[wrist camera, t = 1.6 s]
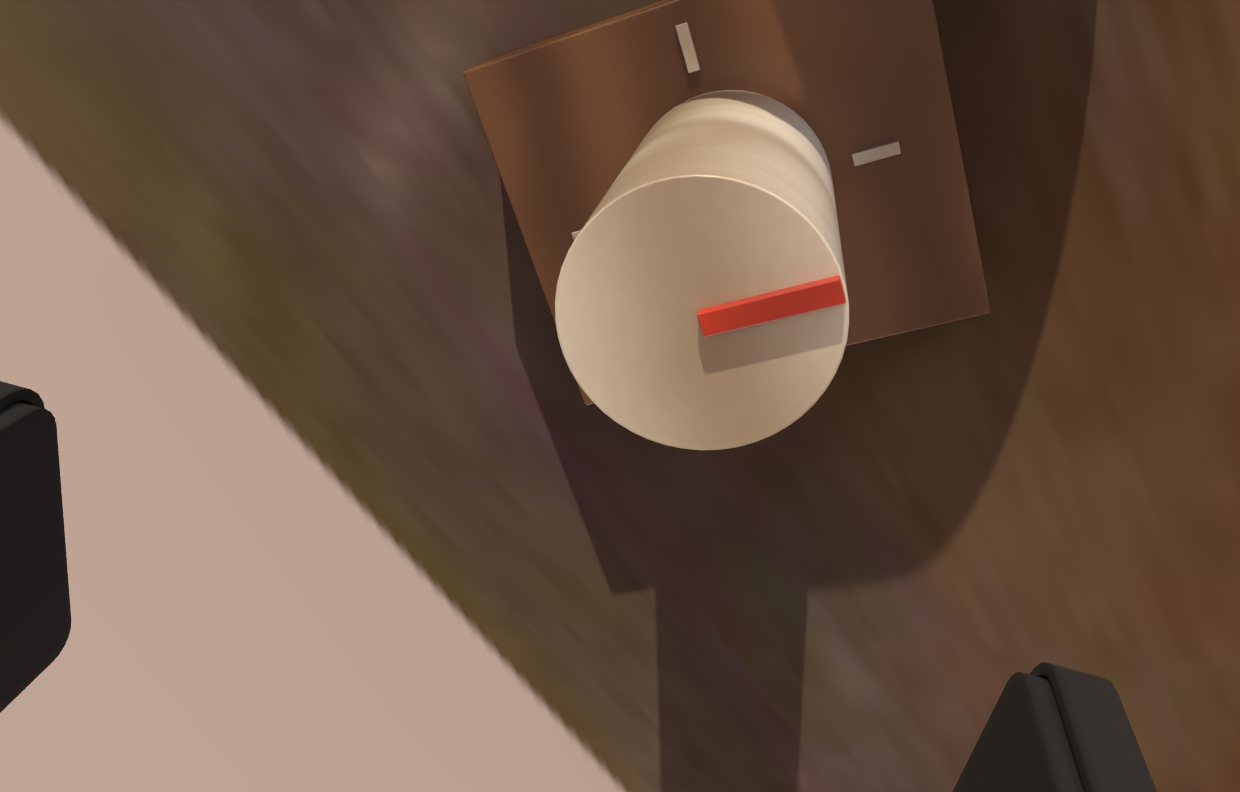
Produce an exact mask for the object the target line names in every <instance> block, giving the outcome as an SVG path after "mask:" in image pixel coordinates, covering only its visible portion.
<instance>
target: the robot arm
mask: <svg viewBox="0 0 1240 792" xmlns="http://www.w3.org/2000/svg"><path fill="white" fill-rule="evenodd" d="M61 495H62V494H61V482H60V468H59V455H58V442H57V428H56V422H55V418H54V416H53V415H52V413H51V412H50V411H48V410H46V409H45V408H44V404H43V401H42V399H41V398H40V396H39V395H38V394H37V393H36V392H34V391H32V390H30V389H27V388H23V387H19V386H16V385H12V384H8V383H4V382H1V381H0V712H1V711H2V710H4V708H6V706H7V705H8V704H10V702H12V701H13V700H14V699H15V698H16V697H17V696H18V695H19V694H20V693H21V692H22V691H23V690H24V689H25V688H26V687H27V686H28V685H29V684H30V683H31V682H32V681H33V680H34V679H35V678H36V677H37V676H38V675H39V674H40V673H41V672H42V671H44V670H45V668H47V667H48V666H49V665H50V664H51V663H52V662H53V661H54V660H55V658H56V657H57V656H58V655H59V653H60V652H61V650H62V649H63V647H64V645H65V643H66V641H67V639H68V636H69V632H70V629H71V612H70V599H69V586H68V574H67V561H66V560H67V559H66V546H65V533H64V520H63V508H62V496H61ZM953 792H1157V791H1156V788H1155V786H1154V783H1153V781H1152V778H1151V776H1150V773H1149V770H1148V768H1147V765H1146V763H1145V760H1144V758H1143V755H1142V753H1141V750H1140V748H1139V745H1138V743H1137V740H1136V738H1135V735H1134V733H1133V730H1132V728H1131V725H1130V723H1129V720H1128V718H1127V715H1126V713H1125V710H1124V708H1123V705H1122V703H1121V700H1120V698H1119V695H1118V693H1117V690H1116V689H1115V687H1114V685H1113V684H1112V682H1110V681H1109V680H1107V679H1106V678H1102V677H1099V676H1095V675H1091V674H1087V673H1084V672H1080V671H1076V670H1072V669H1069V668H1065V667H1061V666H1058V665H1054V664H1050V663H1040V664H1039V665H1038V666H1036V667H1035V668H1034V669H1033V671H1032V672H1031V674H1030V675H1029V674H1025V673H1022V672H1017V673H1015V674H1014V675H1012V676H1011V678H1010V679H1009V681H1008V682H1007V684H1006V686H1005V688H1004V690H1003V692H1002V694H1001V696H1000V698H999V700H998V702H997V704H996V706H995V708H994V710H993V712H992V714H991V716H990V718H989V720H988V722H987V724H986V726H985V728H984V730H983V732H982V734H981V736H980V738H979V740H978V742H977V744H976V746H975V748H974V750H973V752H972V754H971V756H970V758H969V760H968V762H967V764H966V766H965V768H964V770H963V772H962V774H961V776H960V778H959V780H958V782H957V784H956V786H955V788H954V790H953Z"/></svg>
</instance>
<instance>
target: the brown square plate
mask: <svg viewBox="0 0 1240 792" xmlns="http://www.w3.org/2000/svg"><path fill="white" fill-rule="evenodd" d="M463 75H464V77H465V80H466V83H467V85H468V88H469V91H470V94H471V96H472V99H473V102H474V105H475V107H476V110H477V113H478V115H479V118H480V121H481V124H482V126H483V129H484V132H485V134H486V137H487V140H488V143H489V145H490V148H491V151H492V154H493V156H494V159H495V162H496V164H497V167H498V170H499V173H500V175H501V178H502V181H503V183H504V186H505V189H506V192H507V194H508V197H509V200H510V202H511V205H512V208H513V211H514V213H515V216H516V219H517V222H518V224H519V227H520V230H521V232H522V235H523V238H524V241H525V243H526V246H527V249H528V251H529V254H530V257H531V260H532V262H533V265H534V268H535V270H536V273H537V276H538V279H539V281H540V284H541V287H542V290H543V292H544V295H545V298H546V300H547V303H548V306H549V309H550V311H551V314H552V317H553V319H554V322H555V297H556V288H557V282H558V279H559V275H560V271H561V267H562V265H563V262H564V260H565V258H566V255H567V253H568V250H569V249H570V247H571V245H572V244H573V242H574V240H575V239H576V237H577V235H578V234H579V232H580V231H581V229H582V228H583V227H584V225H585V224H586V222H587V221H588V219H589V218H590V216H591V215H592V213H593V212H594V210H595V209H596V208H597V206H598V205H599V203H600V202H601V200H602V199H603V197H604V196H605V194H606V193H607V191H608V190H609V189H610V187H611V186H612V184H613V183H614V181H615V180H616V178H617V177H618V175H619V174H620V172H621V171H622V170H623V168H624V167H625V165H626V164H627V162H628V161H629V159H630V158H631V156H632V155H633V154H634V152H635V151H636V149H637V148H638V146H639V145H640V143H641V142H642V140H643V139H644V137H645V136H646V135H647V133H648V132H649V131H650V129H651V128H652V127H653V126H654V124H655V123H656V122H657V121H658V120H659V119H660V118H662V117H663V116H664V115H665V114H666V113H667V112H669V111H670V110H671V109H673V108H674V107H675V106H677V105H679V104H681V103H683V102H684V101H686V100H688V99H691V98H693V97H696V96H699V95H701V94H706V93H710V92H714V91H724V90H742V91H748V92H754V93H758V94H761V95H764V96H767V97H770V98H772V99H774V100H776V101H779V102H781V103H783V104H784V105H786V106H787V107H789V108H790V109H792V110H793V111H794V112H796V113H797V114H798V115H799V116H800V117H801V118H802V119H804V120H805V122H806V123H807V124H808V125H809V126H810V127H811V129H812V130H813V131H814V133H815V134H816V136H817V137H818V139H819V140H820V142H821V144H822V146H823V148H824V150H825V153H826V155H827V158H828V161H829V165H830V169H831V175H832V181H833V188H834V196H835V203H836V211H837V218H838V226H839V233H840V241H841V248H842V256H843V263H844V271H845V278H846V286H847V293H848V300H849V329H848V337H847V343H846V346H848V345H852V344H857V343H861V342H866V341H870V340H874V339H879V338H883V337H888V336H892V335H896V334H901V333H905V332H909V331H914V330H918V329H923V328H927V327H931V326H936V325H940V324H945V323H949V322H953V321H958V320H962V319H966V318H971V317H975V316H980V315H984V314H988V313H990V311H991V310H990V304H989V299H988V294H987V288H986V283H985V277H984V272H983V267H982V261H981V256H980V250H979V245H978V240H977V234H976V229H975V224H974V218H973V213H972V207H971V202H970V197H969V191H968V186H967V181H966V175H965V170H964V164H963V159H962V154H961V148H960V143H959V137H958V132H957V127H956V121H955V116H954V111H953V105H952V100H951V94H950V89H949V84H948V78H947V73H946V67H945V62H944V57H943V51H942V46H941V41H940V35H939V30H938V24H937V19H936V14H935V8H934V3H933V0H662V1H659V2H656V3H653V4H650V5H647V6H644V7H642V8H639V9H636V10H633V11H630V12H627V13H624V14H621V15H618V16H615V17H612V18H609V19H606V20H603V21H600V22H597V23H594V24H592V25H589V26H586V27H583V28H580V29H577V30H574V31H571V32H568V33H565V34H562V35H559V36H556V37H553V38H550V39H547V40H544V41H542V42H539V43H536V44H533V45H530V46H527V47H524V48H521V49H518V50H515V51H512V52H509V53H506V54H503V55H500V56H497V57H495V58H492V59H489V60H487V61H485V62H483V63H480V64H478V65H476V66H474V67H472V68H470V69H468V70H466V71H464V72H463ZM555 325H556V322H555ZM576 382H577V381H576ZM577 385H578V387H579V390H580V393H581V396H582V398H583V401H584V404H585V405H589V404H594V403H593V402H592V401H591V400H590V398H589V397H588V396H587V395H586V393H585V392H584V391H583V390H582V388H581V387H580V386H579V384H578V382H577Z"/></svg>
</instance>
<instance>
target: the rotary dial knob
mask: <svg viewBox="0 0 1240 792" xmlns="http://www.w3.org/2000/svg"><path fill="white" fill-rule="evenodd" d="M555 322H556V328H557V335H558V339H559V343H560V346H561V349H562V353H563V355H564V358H565V360H566V362H567V364H568V367H569V369H570V371H571V373H572V374H573V376H574V378H575V379H576V381H577V382H578V384H579V386H580V387H581V388H582V390H583V391H584V392H585V393H586V395H587V396H588V397H589V398H590V400H591V401H592V402H593V403H594V404H595V405H596V406H597V407H598V408H599V409H600V410H601V411H602V412H604V413H605V414H606V415H608V416H609V417H610V418H611V419H613V420H614V421H615V422H617V423H618V424H620V425H621V426H623V427H625V428H626V429H628V430H630V431H631V432H633V433H635V434H637V435H640V436H642V437H644V438H646V439H648V440H651V441H654V442H658V443H661V444H664V445H667V446H672V447H677V448H682V449H692V450H721V449H728V448H735V447H740V446H743V445H747V444H751V443H754V442H757V441H759V440H762V439H764V438H767V437H769V436H772V435H773V434H775V433H777V432H779V431H781V430H782V429H784V428H786V427H788V426H789V425H790V424H792V423H793V422H795V421H796V420H797V419H799V418H800V417H801V416H803V415H804V414H805V413H806V412H807V411H808V410H809V409H810V408H811V407H812V406H813V405H814V404H815V403H816V402H817V400H818V399H819V398H820V397H821V395H822V394H823V393H824V392H825V390H826V389H827V387H828V386H829V384H830V382H831V381H832V379H833V377H834V376H835V374H836V372H837V369H838V367H839V365H840V362H841V360H842V357H843V354H844V350H845V346H846V343H847V337H848V329H849V300H848V293H847V286H846V278H845V271H844V263H843V256H842V248H841V241H840V233H839V226H838V218H837V211H836V203H835V196H834V188H833V181H832V175H831V169H830V165H829V161H828V158H827V155H826V153H825V150H824V148H823V146H822V144H821V142H820V140H819V139H818V137H817V136H816V134H815V133H814V131H813V130H812V129H811V127H810V126H809V125H808V124H807V123H806V122H805V120H804V119H802V118H801V117H800V116H799V115H798V114H797V113H796V112H794V111H793V110H792V109H790V108H789V107H787V106H786V105H784V104H783V103H781V102H779V101H776V100H774V99H772V98H770V97H767V96H764V95H761V94H758V93H754V92H748V91H742V90H724V91H714V92H710V93H706V94H701V95H699V96H696V97H693V98H691V99H688V100H686V101H684V102H683V103H681V104H679V105H677V106H675V107H674V108H673V109H671V110H670V111H669V112H667V113H666V114H665V115H664V116H663V117H662V118H660V119H659V120H658V121H657V122H656V123H655V124H654V126H653V127H652V128H651V129H650V131H649V132H648V133H647V135H646V136H645V137H644V139H643V140H642V142H641V143H640V145H639V146H638V148H637V149H636V151H635V152H634V154H633V155H632V156H631V158H630V159H629V161H628V162H627V164H626V165H625V167H624V168H623V170H622V171H621V172H620V174H619V175H618V177H617V178H616V180H615V181H614V183H613V184H612V186H611V187H610V189H609V190H608V191H607V193H606V194H605V196H604V197H603V199H602V200H601V202H600V203H599V205H598V206H597V208H596V209H595V210H594V212H593V213H592V215H591V216H590V218H589V219H588V221H587V222H586V224H585V225H584V227H583V228H582V229H581V231H580V232H579V234H578V235H577V237H576V239H575V240H574V242H573V244H572V245H571V247H570V249H569V250H568V253H567V255H566V258H565V260H564V262H563V265H562V267H561V271H560V275H559V279H558V282H557V288H556V297H555Z"/></svg>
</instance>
